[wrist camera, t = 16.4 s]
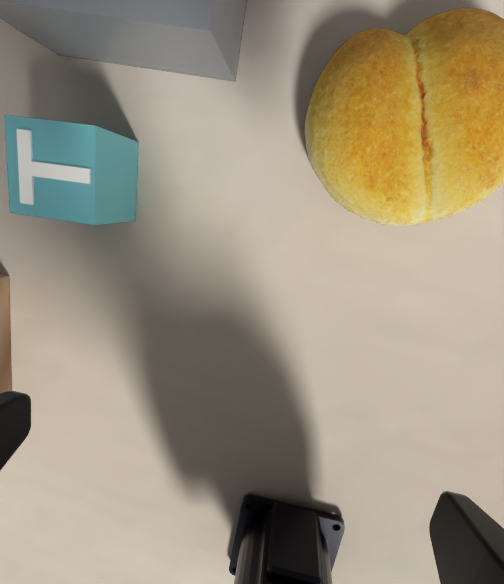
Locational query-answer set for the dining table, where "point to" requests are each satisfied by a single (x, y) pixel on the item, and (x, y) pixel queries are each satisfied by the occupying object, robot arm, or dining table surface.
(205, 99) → the dining table surface
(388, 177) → the bread roll
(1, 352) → the hood walnut
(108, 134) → the letter cube
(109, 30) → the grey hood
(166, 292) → the dining table surface
